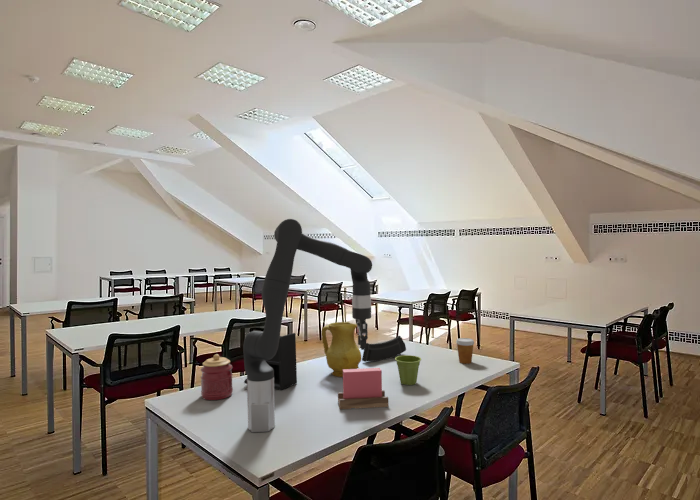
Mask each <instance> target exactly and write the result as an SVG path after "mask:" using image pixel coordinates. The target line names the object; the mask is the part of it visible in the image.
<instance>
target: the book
mask: <svg viewBox="0 0 700 500" xmlns="http://www.w3.org/2000/svg"><path fill="white" fill-rule="evenodd" d="M382 376H383V375H382V369H381V367H371V368H365V367H364V368H357V369H343V377H342V392H343V399H351V398H370V397H382V390H383V383H382V382H383V381H382V380H383V377H382Z"/></svg>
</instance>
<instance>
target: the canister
mask: <svg viewBox="0 0 700 500" xmlns="http://www.w3.org/2000/svg"><path fill="white" fill-rule="evenodd" d="M232 369H233V365H232V364H231V360H230V359H228V358H227V357H223V356H220V354H218V353H216V354H214V355H213V357H211V358H208V359H206V360H205V361H204V362H202V367H201V368H200V372H201V376H200V379H201V381H200V383H201V389H200V395H201V398H202V399H204V400H206V401H218V400H224V399H227V398H229V397H231V396H232V395H233V391H234V387H233V373H232Z"/></svg>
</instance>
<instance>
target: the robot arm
mask: <svg viewBox="0 0 700 500" xmlns="http://www.w3.org/2000/svg"><path fill="white" fill-rule="evenodd" d="M273 235H274V237H273V238H274V240H275V241H276V248H275V251H274V255H273V257H272V259H271V262H270V264H269V266H268V269H267V270H266V271H267V272H266V273H265V276H264V277H265V278H264V279H263V284H262V288H261V299H262V304H263V307H264V311H265V322H264V327H263V331H259V330H252V331H249V332H248V333H247V334H246V335H245V336H246V337H244V341H243V346H242V349H243V350H242V351H243V353H242V354H243V363H244V365H243V366H244V371H245V374H246V379H247V383H246V385H247V386H246V391H247V395H246V396H247V429H248V430H249V431H250V432H251V433H263V432H270V431H271V430H272V429H274V428H275V426H276V425H275V424H276V419H275V418H276V417H275V416H276V415H275V414H276V413H275V388H274V370H273V368H272V367H271V366H269V365H268V364H267V363H266V361H265V360H270V359H272V358H273V357H274V356H275V354H276V352H277V350H278V346H279V339H280V336H281V330H282V322H283V317H284V311H285V306H286V302H287V298H288V295H289V294H288V293H289V289H290V285H291V279H292V274H293V268H294V261H295V257H296V253H297V251H302V252H305V253H308V254H311V255H314V256H316V257H319V258H321V259H323V260H327V261H329V262H331V263H333V264H336V265H338V266H340V267H342V266H343V267H346V268H348V269H350V275H351V280H352V298H351V306H352V309H351V315H352V316H351V317H352V319H354V320H356V322H355V324H356V325H357V327H356V333H357V344H358V345H357V346H360V351H362V350H363V351H364V350H366V349H367V345H366V343H367V340H368V338H369V337H368V333H369V332H368V331H369V330H368V323H367V322H366V320H370V319H371V318H372V299H371V298H372V297H371V283H370V280H369V279H368V274H369V273H370V272H371V271H372V269H373V263H372V262H373V261H372V260H371V259H370V258H369V257H368V256H366V255H364V254H361V253H358V252H355V251H352V250H350V249H347V248H345V247H343V246H341V245H339V244H337V243H334V242H331V241H327V240H323V239H317V238H315V237H312V236H308V235H306V234H304V233H303V227H302V226H301V223H300V222H299V221H298V220H296V219H294V218H287V219H285V220H283V221H281V222H280V223H279V225H278V226H277V227H276V228H275V230H274V234H273Z"/></svg>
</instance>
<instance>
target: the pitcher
mask: <svg viewBox="0 0 700 500" xmlns="http://www.w3.org/2000/svg"><path fill="white" fill-rule="evenodd" d="M356 329H357V325H356V323H352V322H350V321H338V322H330V323H329V324H327V325H325V326H323V327H322V329H321V340H322V344H323V345H322V346H323V350H324V351H323V352H324V354H325V358H326V359H325V361H326V363H327V366H328V368H329V369H331V370H332V372H331V375H332V376H333V377H340V378H343V369H360V368H359V364H360V363H361V361H362V352H361V349H359V347H358V345H357V343H356V341H355V330H356ZM327 331H329V332H330V334H331V336H332V337H331V342H330V345H329V344H328V340H327Z"/></svg>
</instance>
